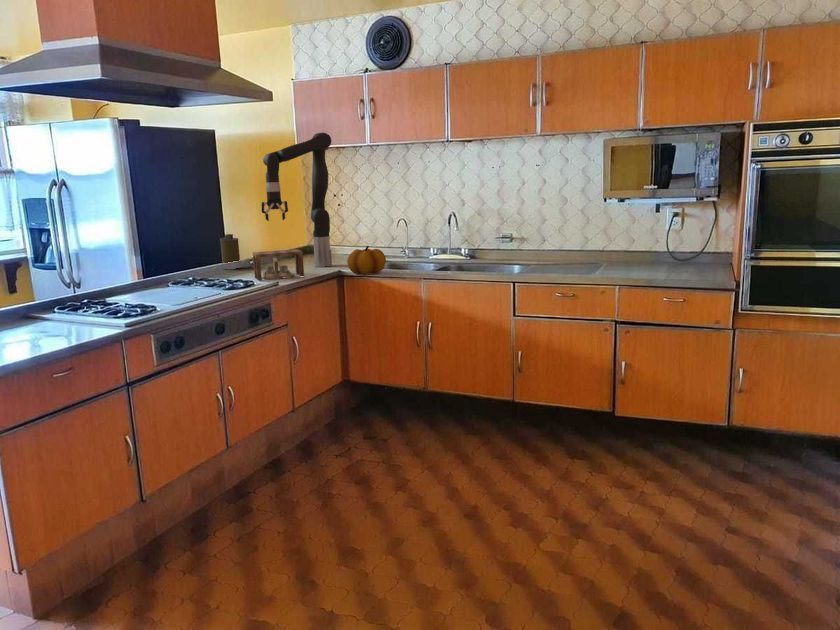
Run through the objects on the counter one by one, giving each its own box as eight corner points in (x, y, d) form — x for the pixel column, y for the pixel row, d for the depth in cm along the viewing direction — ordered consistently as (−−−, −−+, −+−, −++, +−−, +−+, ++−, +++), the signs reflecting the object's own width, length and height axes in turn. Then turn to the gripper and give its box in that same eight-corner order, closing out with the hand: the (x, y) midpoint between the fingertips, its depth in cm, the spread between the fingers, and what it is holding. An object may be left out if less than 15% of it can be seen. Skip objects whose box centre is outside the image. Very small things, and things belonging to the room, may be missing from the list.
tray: (288, 271, 367) (287, 257, 366) (291, 277, 346) (290, 262, 344) (262, 273, 364) (261, 258, 362) (264, 279, 342) (262, 264, 340)
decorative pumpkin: (387, 269, 364) (386, 242, 361) (384, 276, 342) (383, 247, 339) (350, 270, 364) (349, 243, 361) (345, 277, 343) (344, 248, 340)
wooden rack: (299, 273, 358) (298, 249, 355) (304, 276, 347) (302, 251, 344) (254, 277, 349) (252, 252, 347) (257, 280, 338) (255, 254, 336)
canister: (244, 267, 389) (241, 233, 385) (234, 270, 379) (231, 235, 375) (228, 267, 393) (225, 233, 388) (218, 269, 383) (214, 235, 379)
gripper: (285, 190, 369) (287, 219, 372) (259, 191, 364) (261, 220, 367) (287, 190, 362) (289, 220, 365) (261, 191, 357) (263, 221, 360)
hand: (275, 220), depth 366 cm, fingers open, 8 cm apart
